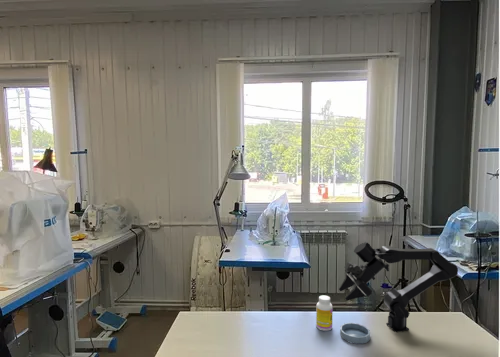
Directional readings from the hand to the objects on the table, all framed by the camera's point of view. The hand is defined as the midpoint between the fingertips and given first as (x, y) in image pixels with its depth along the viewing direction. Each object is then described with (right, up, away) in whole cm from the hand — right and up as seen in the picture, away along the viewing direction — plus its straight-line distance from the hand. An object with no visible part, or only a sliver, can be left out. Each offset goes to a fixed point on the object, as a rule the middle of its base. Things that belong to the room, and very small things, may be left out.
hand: (342, 294), depth 137 cm
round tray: (+3, -15, -6) cm, 16 cm away
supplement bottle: (-7, -14, +1) cm, 16 cm away
